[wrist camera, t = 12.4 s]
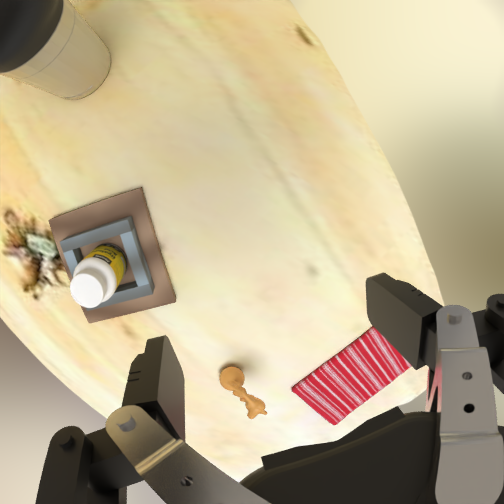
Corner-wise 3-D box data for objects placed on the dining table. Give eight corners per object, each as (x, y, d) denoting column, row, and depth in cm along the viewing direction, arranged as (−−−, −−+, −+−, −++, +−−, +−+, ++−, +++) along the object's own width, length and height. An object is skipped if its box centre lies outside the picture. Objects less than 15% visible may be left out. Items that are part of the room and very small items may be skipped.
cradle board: (52, 218, 36) (40, 224, 32) (141, 187, 37) (136, 190, 33) (91, 318, 41) (84, 332, 37) (176, 297, 42) (174, 310, 39)
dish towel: (416, 355, 56) (422, 361, 54) (328, 421, 58) (333, 429, 55) (392, 305, 51) (400, 311, 48) (288, 384, 52) (292, 394, 49)
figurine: (205, 362, 47) (210, 415, 35) (235, 342, 46) (248, 394, 35) (235, 390, 49) (246, 442, 38) (264, 373, 49) (281, 423, 38)
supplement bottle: (127, 242, 37) (107, 268, 28) (129, 281, 39) (112, 316, 30) (89, 241, 36) (61, 266, 27) (92, 280, 38) (68, 313, 29)
